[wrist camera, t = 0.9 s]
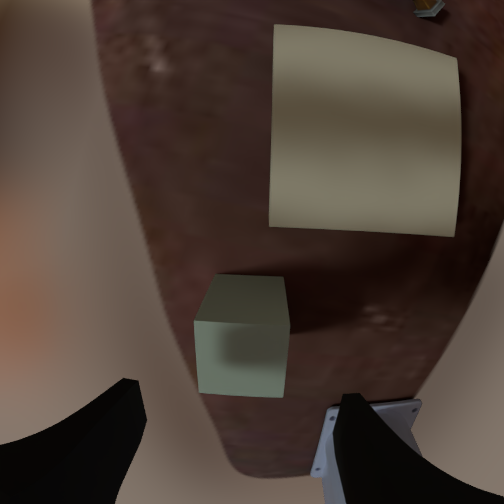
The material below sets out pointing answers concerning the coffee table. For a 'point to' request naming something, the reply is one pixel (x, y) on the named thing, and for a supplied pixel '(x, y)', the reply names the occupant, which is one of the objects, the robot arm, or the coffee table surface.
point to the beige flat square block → (363, 134)
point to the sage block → (243, 336)
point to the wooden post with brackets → (427, 7)
